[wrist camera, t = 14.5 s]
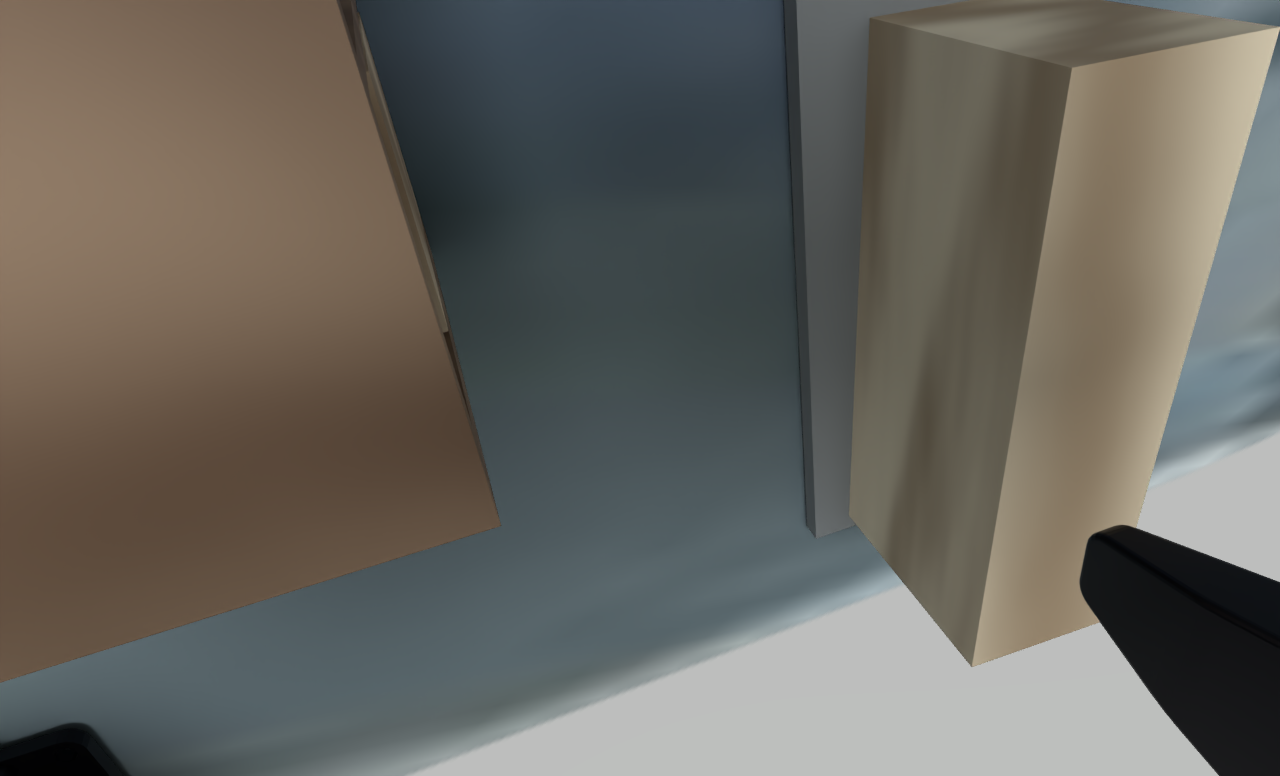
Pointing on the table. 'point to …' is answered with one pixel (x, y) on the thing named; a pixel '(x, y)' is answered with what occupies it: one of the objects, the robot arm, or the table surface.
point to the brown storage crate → (210, 322)
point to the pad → (829, 229)
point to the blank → (1031, 286)
